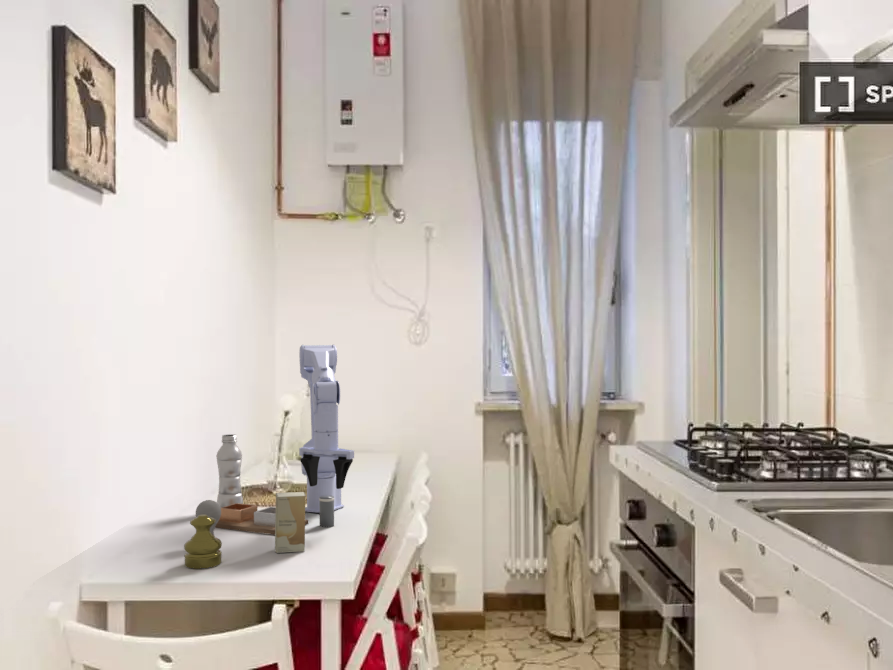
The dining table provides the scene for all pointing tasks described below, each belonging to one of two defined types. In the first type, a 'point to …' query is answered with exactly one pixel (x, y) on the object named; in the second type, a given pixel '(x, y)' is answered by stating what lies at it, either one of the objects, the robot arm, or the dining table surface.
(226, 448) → the plastic bottle
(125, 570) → the dining table surface
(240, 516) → the copper collar
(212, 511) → the light bulb
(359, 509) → the dining table surface
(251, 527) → the walnut board
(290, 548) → the skincare box
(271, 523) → the steel collar
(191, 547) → the gold chess piece
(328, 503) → the grey domed cylinder
